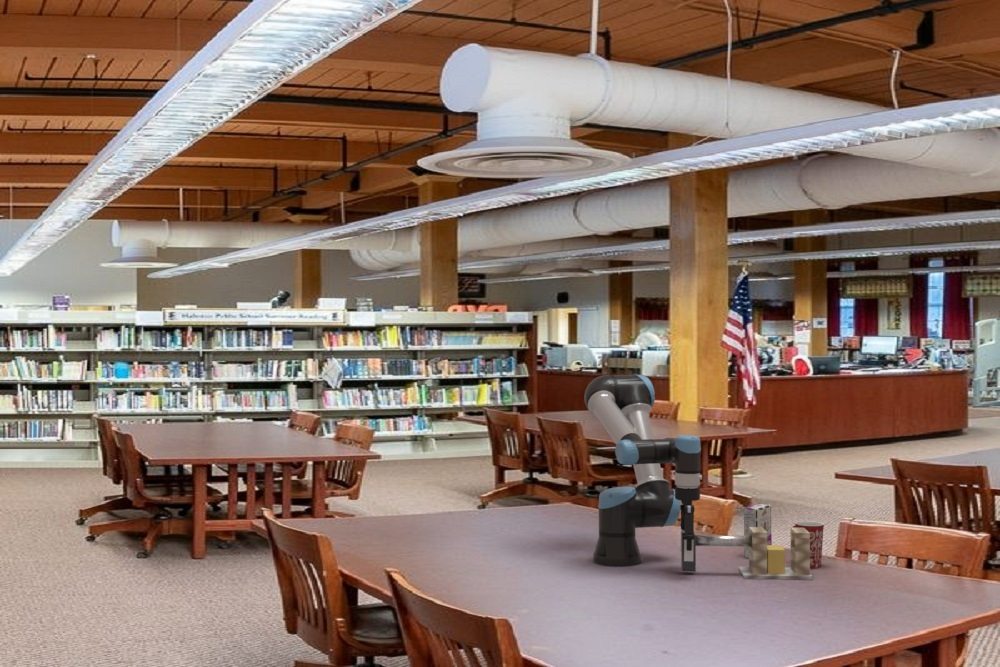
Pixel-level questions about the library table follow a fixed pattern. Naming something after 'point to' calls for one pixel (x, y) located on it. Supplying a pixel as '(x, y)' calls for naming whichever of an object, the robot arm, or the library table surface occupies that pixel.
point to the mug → (813, 540)
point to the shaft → (711, 541)
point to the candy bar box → (757, 521)
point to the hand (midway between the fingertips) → (686, 556)
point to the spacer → (775, 559)
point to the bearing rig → (759, 556)
